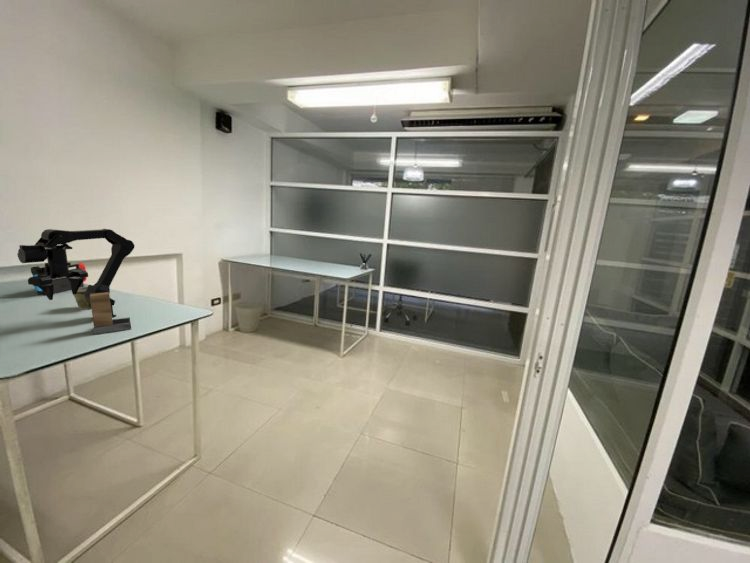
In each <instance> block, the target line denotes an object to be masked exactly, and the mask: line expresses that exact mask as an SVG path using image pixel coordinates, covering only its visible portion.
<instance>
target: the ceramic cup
mask: <svg viewBox="0 0 750 563" xmlns="http://www.w3.org/2000/svg"><path fill="white" fill-rule="evenodd" d="M87 288H88V286H84V287H80V288H79V289H78V291H77V293H76V294H75V295H73V297H74V300H75V302H76V304H77V307H78V309H79V310H81V311H89V310H92V309H91V303H90V302H89V301H87V300H86V298H85V294H86V293H84V292H85V291H86V290H87Z"/></svg>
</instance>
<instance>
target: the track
mask: <svg viewBox="0 0 750 563" xmlns="http://www.w3.org/2000/svg"><path fill="white" fill-rule="evenodd" d="M112 321H113V325H107V326H100V327H94V326H93V334H94V335H100V334H106V333H115V332H121V331H127V330H132V323H131V317H130V316H129V317H123V318H115V319H113V318H112Z"/></svg>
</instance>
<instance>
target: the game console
mask: <svg viewBox="0 0 750 563" xmlns="http://www.w3.org/2000/svg"><path fill="white" fill-rule="evenodd" d="M68 268H69V271H72V270H85V271H87V270H86V265H85V264H84V263H83V262H80V263H79V262H78V263H74V264H71V265H68ZM35 276H38V275H32V277H35ZM48 277H50V276H48ZM62 277H64V276H62ZM57 278H58V277H57ZM85 278H86V279H84V281H83V282H82V284H81V285H80V287H85V285H84V282H86V281H87V279H88V277H85ZM51 284H54V288H53V295H56V294H60V293H65V292H68V291H72V289H71V283H70V281H69V280H68V279H67V278H65V279H60V280H54V281H53V282H52V283H51ZM33 287H34V290H35V291H36V292H37V293H36V294H37V295H42V294H45V293H44V292H43V291H42V290H41V289H40V288H39V287H37V286H33ZM80 287H79V288H80ZM55 293H56V294H55Z"/></svg>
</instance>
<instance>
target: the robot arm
mask: <svg viewBox="0 0 750 563" xmlns="http://www.w3.org/2000/svg"><path fill="white" fill-rule="evenodd" d="M40 235H41V236H40V238H39V239H38V240H37V241H36V243H35V244H31V245H29V244H28V245H25V244H21V245H20V244H19V248H18V249H17V254H16V255H17V257H18V261H19V262H20V263H22V264H31V263H42V262H45V261H47V262H45V263H44V267H40V266H32V267H30V273H31V275H32V276H30V277H29V278H28V279H27V283H28V285H31V286H33V287H34V286H37V287H39V288H40V289H41V290H42V291H43V292H44V293H45V295H44V296H46V298H47V299H48V300H49V301H53V298H54V294H53V288H54V284H51V283H52V282H53V281H54V280H60V279H65V278H67V279H68V280H69V281H70V283H71V289H72V290H71V292H72V295H73V296H74V295H75V294H76V293H77V291H78V289H79V287H80V285H81V284H82V282H83V281H84V279H86V278H85V277H87V278H88V277H89V273H88V271H87V270H86V271H85V270H72V271H69V268H68V265H72V263H71V262H69V261H68V254H67V250H73V246H71V245H69V244H70V243H72V242H75V241H84V240H86V241H87V240H95V239H105V240H106V241H107V242H108V243H109V244H110V245H112V246H111V251H110V252H111V255H110V257H109V258H108V261H107V263H106V265H105V266H104V268H103V270H102V272H101V274H100V276H99V277H98V279H97V281H96V282H95V283H94V284H93V285H92V284H88V286H87V287H88V288H87V290H86V291H85V292H84V293H86V294H85V298H86V300H87V301H89V302H90V303H91V301H90V294H94V293H106V292H109V295H111V292H110V291H111V290H110V287H111V284H112V283H113V281H114V279H115V277H116V274H117V273H118V271H119V268H120V267H121V264H122V263H123V260H124V259H125V258H127V257H128V256H130V255H131V253H132V252H133V251H134V249H135V243H134V242H133V240H130V239H127V238H125V237H124V236H122V235H120V234H118V233H117V232H116V231H114V230H113V229H109V228H103V229H102V228H101V229H86V230H62V229H53V228H52V229H51V228H49V229H44V230H43V231H42V232H41V234H40ZM33 275H38V276H35V277H33ZM48 276H50V277H48ZM62 276H64V277H62ZM57 277H58V278H57ZM86 280H87V279H86ZM83 283H84V282H83ZM110 304H111V313H112V318H114V317H117V314H114V310H113V307H114V305H115V304H116V300H115V299H112V298H111V297H110ZM91 319H92V320H93V317H91Z"/></svg>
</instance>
